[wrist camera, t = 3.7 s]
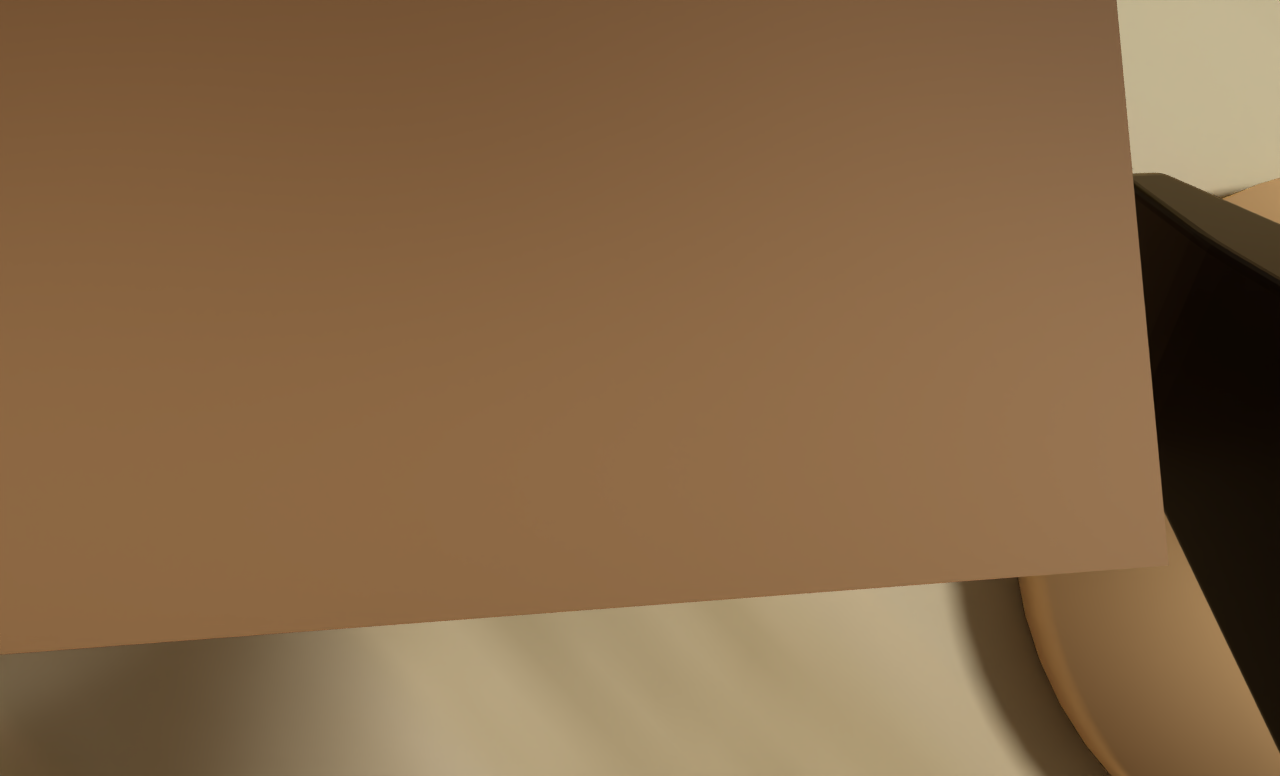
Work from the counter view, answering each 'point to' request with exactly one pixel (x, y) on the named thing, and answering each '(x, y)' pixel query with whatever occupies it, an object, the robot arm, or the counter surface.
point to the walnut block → (557, 308)
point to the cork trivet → (1151, 655)
